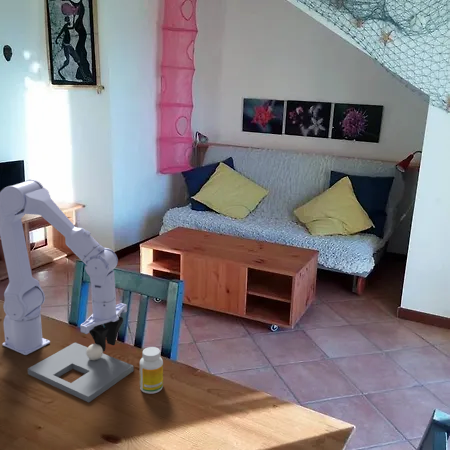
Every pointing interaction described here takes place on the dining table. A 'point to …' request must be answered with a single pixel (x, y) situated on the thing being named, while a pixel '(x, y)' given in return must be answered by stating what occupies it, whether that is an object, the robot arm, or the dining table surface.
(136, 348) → the dining table surface
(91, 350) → the ball
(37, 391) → the dining table surface
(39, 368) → the plate
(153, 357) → the supplement bottle
